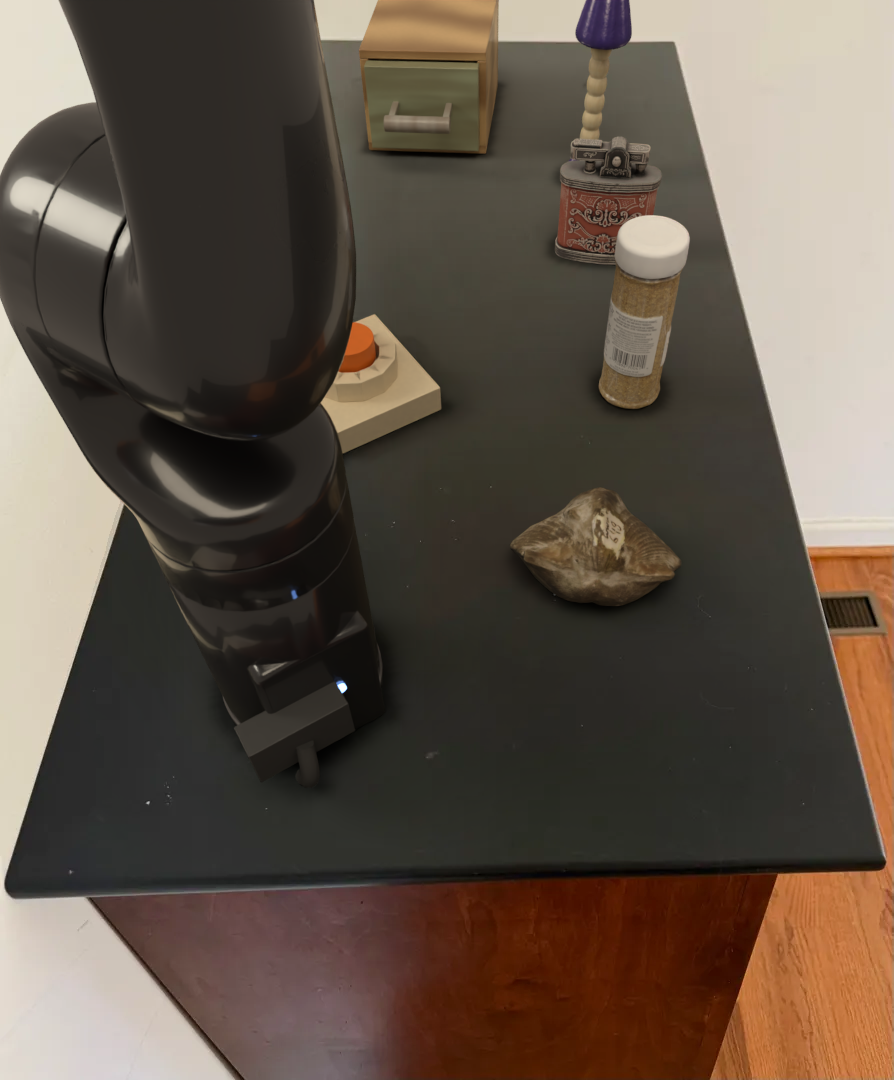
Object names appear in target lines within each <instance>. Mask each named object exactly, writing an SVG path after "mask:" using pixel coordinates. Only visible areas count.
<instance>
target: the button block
mask: <svg viewBox="0 0 894 1080" xmlns="http://www.w3.org/2000/svg"><path fill="white" fill-rule="evenodd" d="M355 322H356V323H360V324H363V325H365V326H367V327H368V328H370V329H371V331H372V332H373V335H374V343H375V351H376V358H375V361H374V363H373V364H372V365H371V366H370V367H368V368H365V369H363V370H360V371H358V372H346V373H341V372H338V374H337V376H336V378H335V381H334V383H333V385H332V386H331V388H330V389H329V391H328V392H327V394H326V395H325V397H324V399H323V400H322V402H321V404H322V405H323V406H324V408H325V409H326V410H327V412H328V414H329V415H330V417H331V419H332V421H333V423H334V425H335V427H336V430H337V433H338V436H339V440H340V444H341V448H342V453H343V454H346V453H347V452H349V451H352V450H354V449H356V448H358V447H361V446H363V445H365V444H367V443H370V442H373V441H374V440H376V439H379V438H381V437H383V436H385V435H387V434H390V433H392V432H394V431H397V430H399V429H401V428H403V427H405V426H407V425H410V424H413V423H414V422H416V421H418V420H421V419H423V418H426V417H428V416H430V415H432V414H435V413H436V412H438V411H441V410H442V398H441V397H442V396H441V387H440V386H439V384H438V383H437V382H436V381H435V380H434V379H433V378H432V376H431V375H430V374H429V373H428V372H427V371H426V369H424V368H423V366H422V365H421V364H420V363H419V362H418V361H417V360H416V359H415V358H414V356H413V355H412V354H411V353H410V352H409V351H408V350H407V348H406V347H405V346H404V345H403V344H402V343H401V341H400V340H398V338H397V337H396V336H395V335H394V334H393V333H392V332H391V330H390V329H389V328H388V327H387V326H386V324H384V323H383V322H382V320H381V319H380V318H379V317H378V316H377V315H376V314H375V313H374V314H371V315H369V316H366V317H364V318H361V319H359V320H356V321H355Z"/></svg>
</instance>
